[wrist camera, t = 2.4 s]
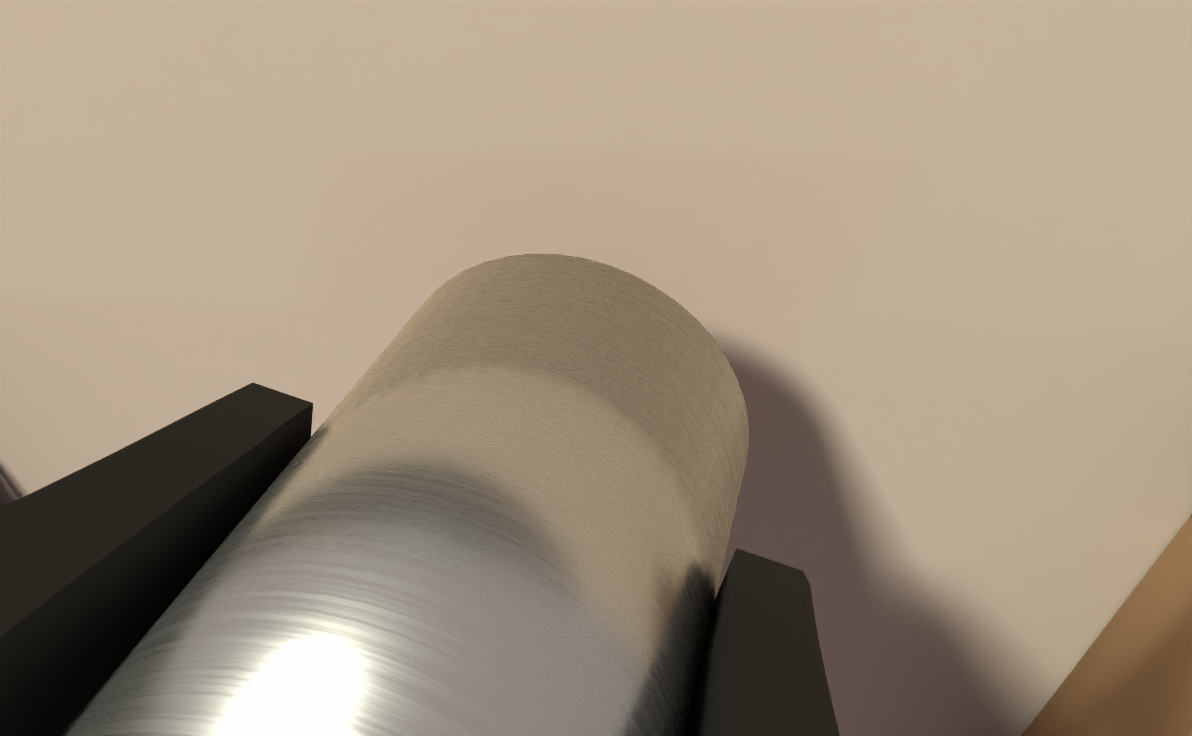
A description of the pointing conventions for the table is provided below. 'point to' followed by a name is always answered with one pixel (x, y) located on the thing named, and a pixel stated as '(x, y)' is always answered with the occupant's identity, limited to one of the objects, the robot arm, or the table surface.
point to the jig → (1135, 662)
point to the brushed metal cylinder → (473, 533)
